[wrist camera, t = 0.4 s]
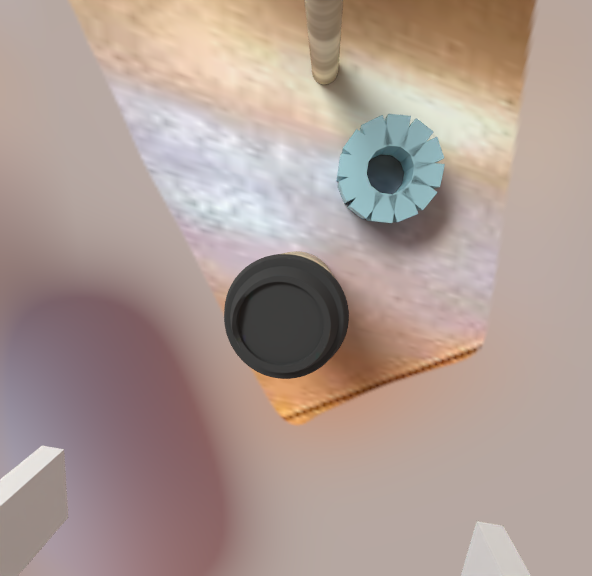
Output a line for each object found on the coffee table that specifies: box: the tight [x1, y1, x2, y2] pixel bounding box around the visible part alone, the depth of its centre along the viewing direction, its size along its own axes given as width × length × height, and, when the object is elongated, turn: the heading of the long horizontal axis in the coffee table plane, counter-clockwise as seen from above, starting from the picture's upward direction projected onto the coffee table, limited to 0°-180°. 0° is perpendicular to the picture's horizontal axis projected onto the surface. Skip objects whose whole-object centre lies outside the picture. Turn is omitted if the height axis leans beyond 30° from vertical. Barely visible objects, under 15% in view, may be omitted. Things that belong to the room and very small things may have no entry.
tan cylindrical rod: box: [305, 0, 343, 85], centre depth 24 cm, size 2×2×16 cm
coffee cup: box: [224, 252, 349, 379], centre depth 29 cm, size 9×9×15 cm
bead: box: [337, 114, 445, 223], centre depth 31 cm, size 9×9×4 cm
